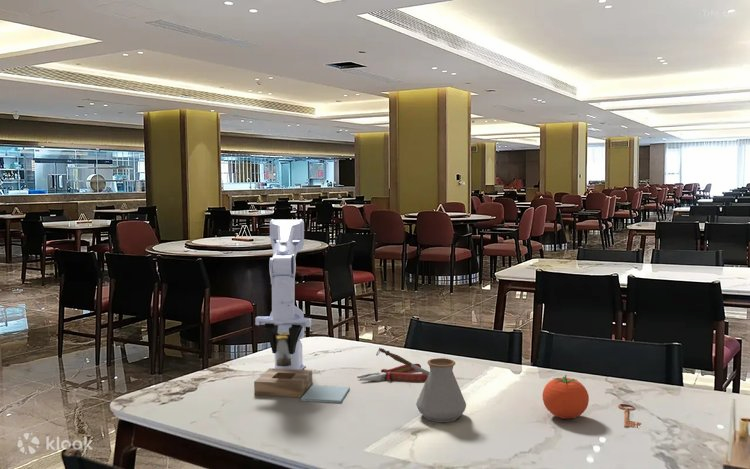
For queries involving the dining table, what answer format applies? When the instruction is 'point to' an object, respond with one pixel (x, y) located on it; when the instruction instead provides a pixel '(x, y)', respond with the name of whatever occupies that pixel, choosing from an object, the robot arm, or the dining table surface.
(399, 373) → the pliers
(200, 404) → the dining table surface
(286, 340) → the steel key peg
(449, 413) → the coffee pot
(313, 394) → the rubber mat
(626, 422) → the key
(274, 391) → the block
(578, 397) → the tomato
